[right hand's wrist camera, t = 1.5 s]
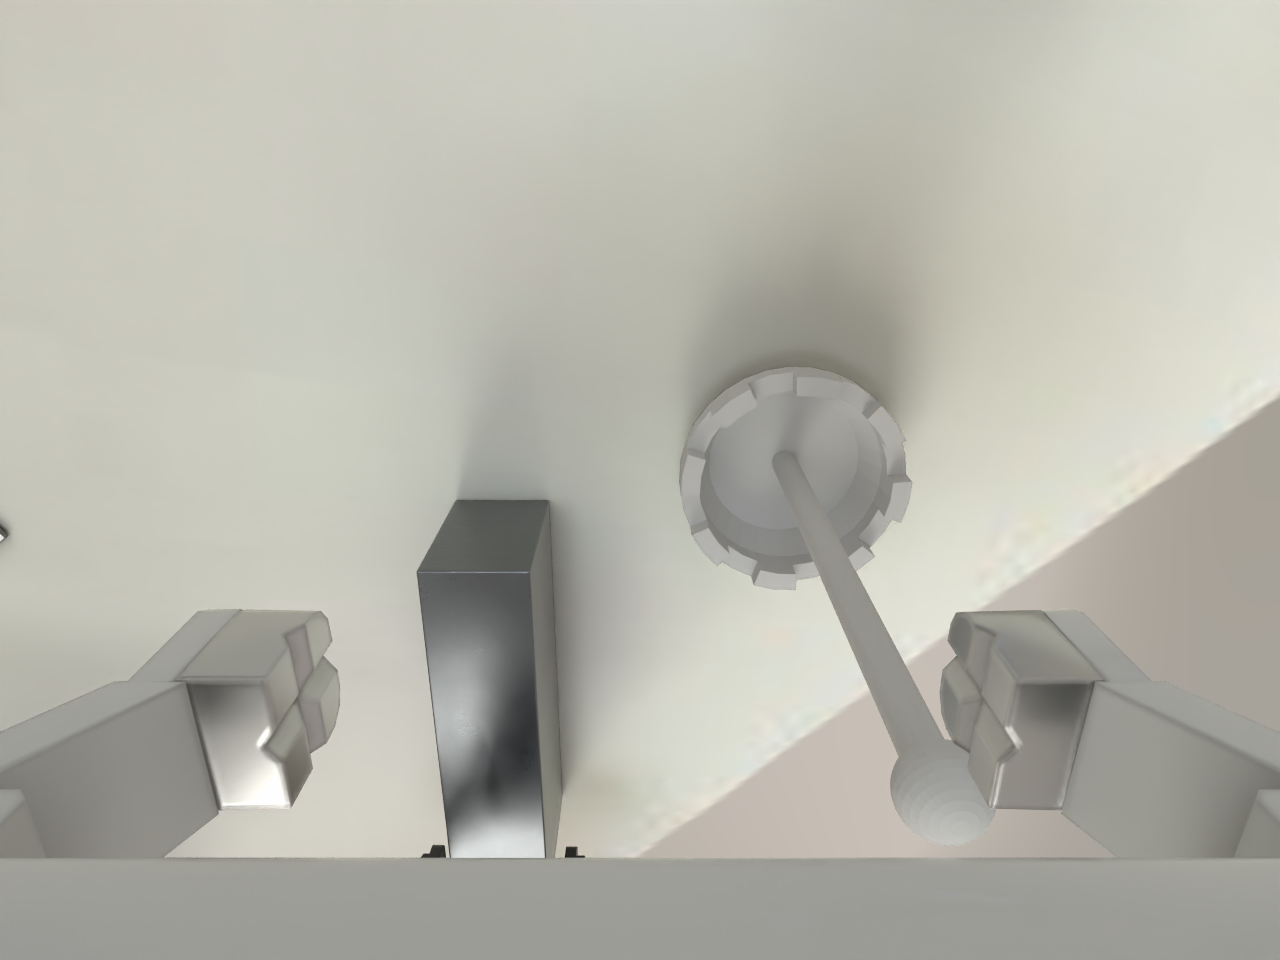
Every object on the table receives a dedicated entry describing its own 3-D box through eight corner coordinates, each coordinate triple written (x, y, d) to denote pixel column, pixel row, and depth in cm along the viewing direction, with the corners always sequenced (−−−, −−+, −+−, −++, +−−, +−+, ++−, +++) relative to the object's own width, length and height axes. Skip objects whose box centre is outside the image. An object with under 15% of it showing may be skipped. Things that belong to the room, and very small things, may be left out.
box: (455, 499, 51) (416, 571, 42) (549, 500, 51) (530, 571, 42) (482, 796, 60) (455, 906, 51) (562, 796, 60) (548, 906, 51)
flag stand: (654, 385, 48) (672, 692, 20) (867, 329, 47) (1202, 573, 19) (703, 569, 53) (775, 1025, 25) (899, 523, 51) (1205, 948, 24)
